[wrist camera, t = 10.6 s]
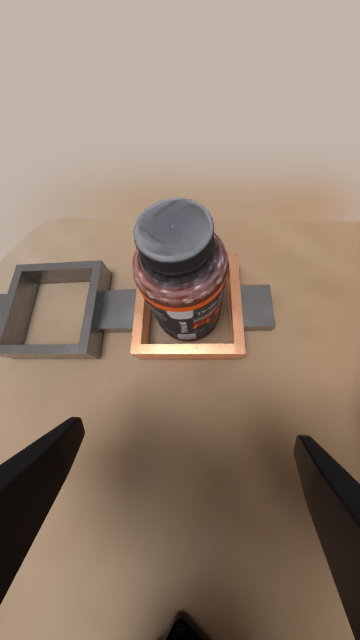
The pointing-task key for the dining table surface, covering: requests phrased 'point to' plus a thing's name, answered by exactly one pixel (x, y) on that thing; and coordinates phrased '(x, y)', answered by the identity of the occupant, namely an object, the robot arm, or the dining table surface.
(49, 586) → the dining table surface
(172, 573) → the dining table surface
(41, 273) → the socket rail
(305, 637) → the dining table surface
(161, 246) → the supplement bottle
